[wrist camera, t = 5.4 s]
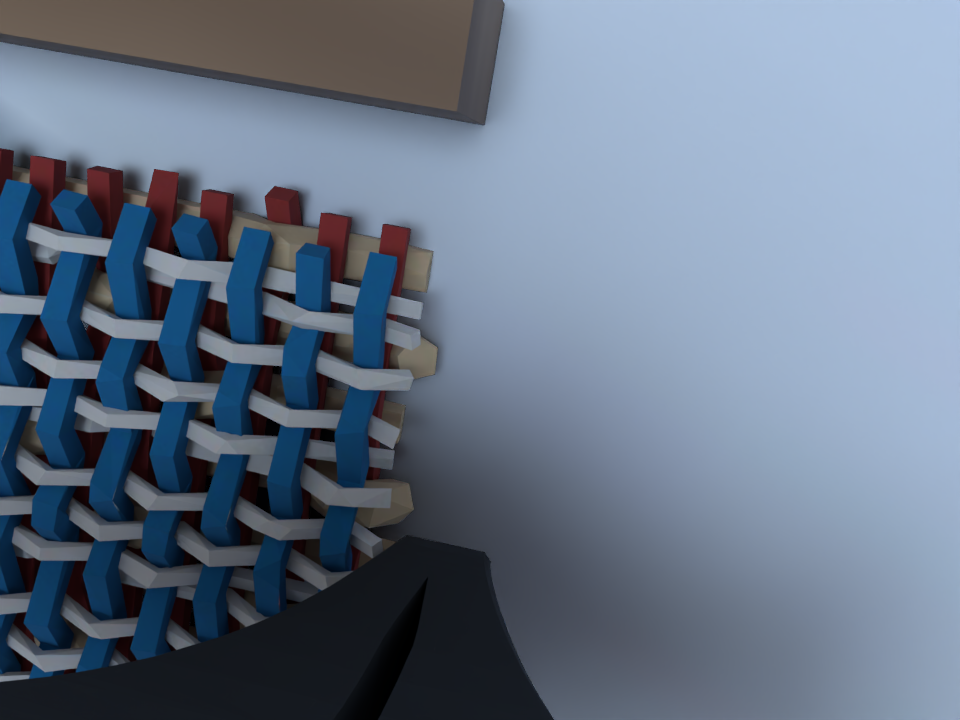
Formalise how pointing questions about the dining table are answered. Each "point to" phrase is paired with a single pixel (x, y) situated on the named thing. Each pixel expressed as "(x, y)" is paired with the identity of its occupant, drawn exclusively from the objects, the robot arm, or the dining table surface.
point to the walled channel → (289, 45)
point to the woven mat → (186, 411)
